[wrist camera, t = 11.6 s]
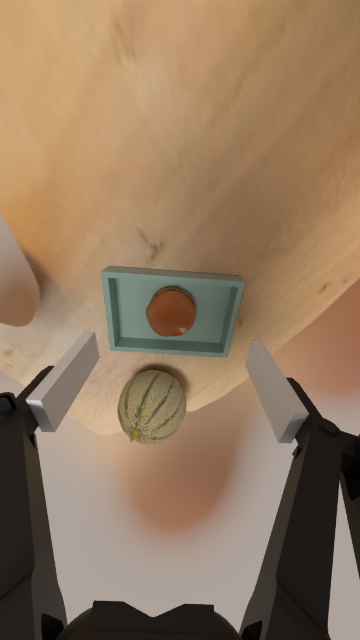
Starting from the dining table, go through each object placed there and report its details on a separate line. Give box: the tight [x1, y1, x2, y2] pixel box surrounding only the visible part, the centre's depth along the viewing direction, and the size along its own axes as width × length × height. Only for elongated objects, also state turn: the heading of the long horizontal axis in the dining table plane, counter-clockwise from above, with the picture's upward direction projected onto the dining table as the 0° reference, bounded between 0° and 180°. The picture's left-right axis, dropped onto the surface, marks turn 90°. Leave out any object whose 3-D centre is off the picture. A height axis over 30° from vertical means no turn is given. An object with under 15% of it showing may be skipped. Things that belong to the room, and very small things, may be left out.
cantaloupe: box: [118, 370, 186, 445], centre depth 41 cm, size 15×15×15 cm
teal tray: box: [101, 266, 245, 357], centre depth 37 cm, size 16×24×4 cm, turn 86°
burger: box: [146, 286, 196, 337], centre depth 36 cm, size 10×9×5 cm
